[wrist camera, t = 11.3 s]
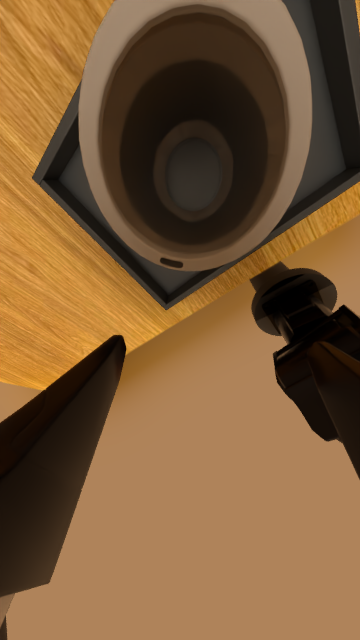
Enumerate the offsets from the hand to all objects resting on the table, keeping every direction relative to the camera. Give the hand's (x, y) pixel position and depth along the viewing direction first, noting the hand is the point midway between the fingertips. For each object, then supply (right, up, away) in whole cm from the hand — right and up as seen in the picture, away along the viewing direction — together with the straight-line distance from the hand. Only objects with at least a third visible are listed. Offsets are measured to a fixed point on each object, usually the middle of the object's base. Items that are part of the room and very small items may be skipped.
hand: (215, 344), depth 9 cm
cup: (-1, +13, +6) cm, 14 cm away
